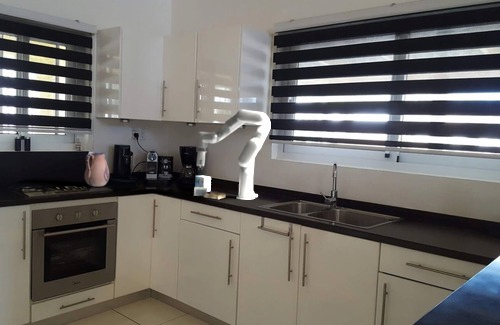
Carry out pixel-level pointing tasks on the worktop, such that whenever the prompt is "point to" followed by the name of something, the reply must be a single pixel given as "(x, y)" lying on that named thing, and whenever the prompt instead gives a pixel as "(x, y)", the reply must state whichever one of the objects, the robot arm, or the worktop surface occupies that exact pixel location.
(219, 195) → the oak board
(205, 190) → the frame slab
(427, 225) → the worktop surface
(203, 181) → the light bulb box
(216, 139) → the robot arm
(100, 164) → the ceramic pitcher
